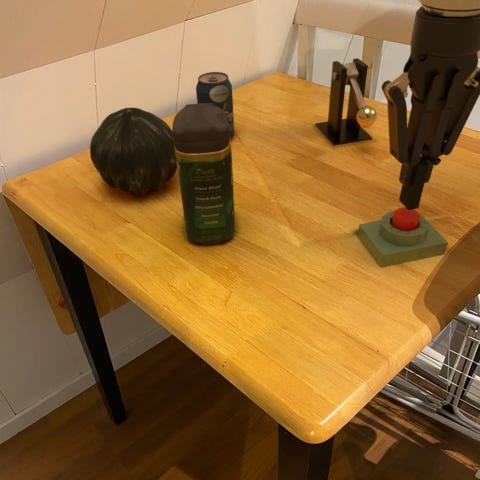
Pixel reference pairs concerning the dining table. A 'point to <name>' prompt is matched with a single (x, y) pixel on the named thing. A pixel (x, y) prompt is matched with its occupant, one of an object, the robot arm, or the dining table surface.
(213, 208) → the coffee jar
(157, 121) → the squash
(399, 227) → the button
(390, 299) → the dining table surface
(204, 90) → the soda can
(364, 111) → the switch lever
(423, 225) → the panel
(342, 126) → the switch bracket
